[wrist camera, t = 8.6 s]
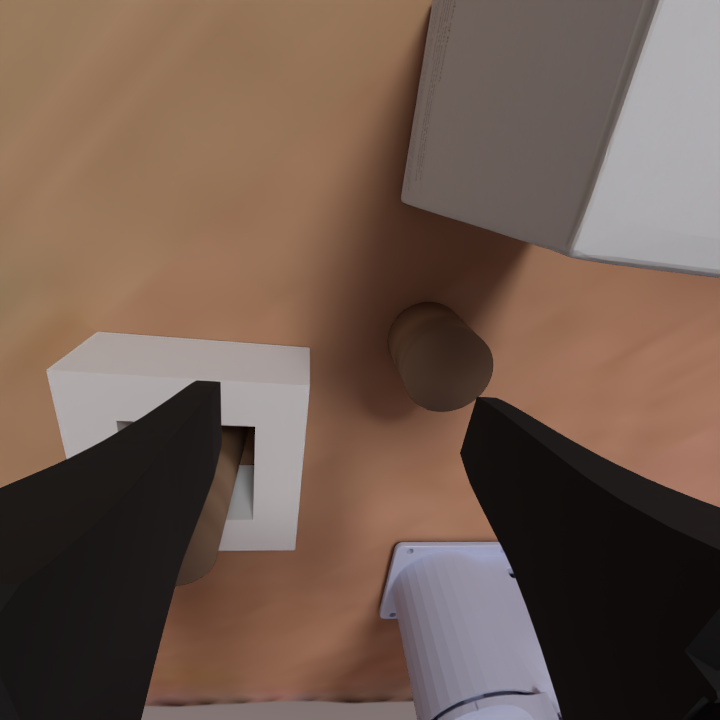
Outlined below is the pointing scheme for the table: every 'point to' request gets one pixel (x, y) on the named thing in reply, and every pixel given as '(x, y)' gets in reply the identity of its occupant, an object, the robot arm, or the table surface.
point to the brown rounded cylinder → (214, 508)
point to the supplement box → (575, 127)
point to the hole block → (238, 408)
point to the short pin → (439, 357)
